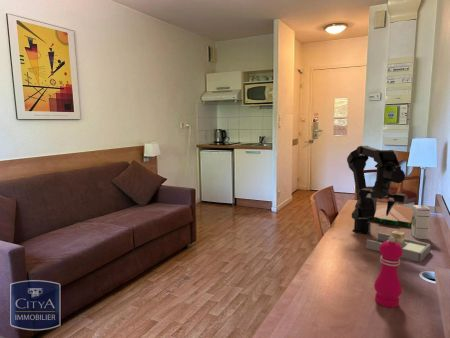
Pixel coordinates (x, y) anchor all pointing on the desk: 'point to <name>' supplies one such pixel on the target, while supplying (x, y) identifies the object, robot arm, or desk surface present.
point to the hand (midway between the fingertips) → (380, 214)
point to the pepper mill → (389, 274)
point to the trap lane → (403, 247)
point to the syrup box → (420, 222)
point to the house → (394, 214)
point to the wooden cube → (398, 236)
